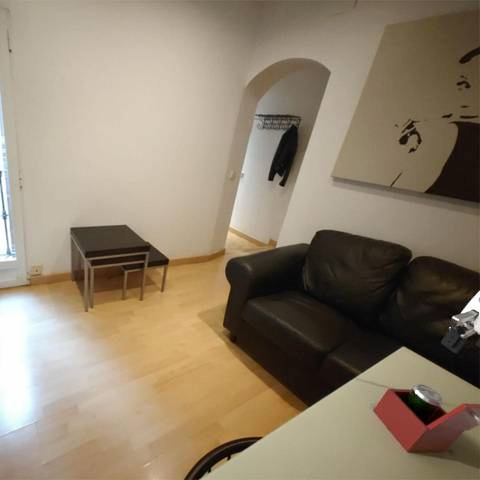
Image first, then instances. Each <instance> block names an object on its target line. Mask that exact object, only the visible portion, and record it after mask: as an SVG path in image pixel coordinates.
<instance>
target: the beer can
mask: <svg viewBox="0 0 480 480" xmlns="http://www.w3.org/2000/svg"><path fill="white" fill-rule="evenodd" d="M410 390H411V391H410V393H409V394H408V395H407V397H406V398H405V399H404V401H403V402H404V403H405V404H406V405H407V406H408V407H409V408H410V409H411V410H412V411H413V412H414V413H415V415H416V416H417V417H418V418H419V419H420V420H421V421H422V422H423V423H424V424H426V423H427V422H428V421H429V420H430V419H431V417H432V416H433V415H434V414H435V413H436V411H437V410H438V409H439V408H440V407H442V405H443V402H444V398H443V397H442V395H441V394H440V393H438V392H437V391H436V390H435V389H433V388H432V387H430V386H429V385H425V384H423V383H417V384H416V385H414V386H413V387H412V389H410Z"/></svg>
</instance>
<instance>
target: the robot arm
mask: <svg viewBox="0 0 480 480" xmlns="http://www.w3.org/2000/svg"><path fill="white" fill-rule="evenodd" d="M450 319H451V320H450V323H449V324H448V326H449V327H448V331H447V333H446V334H445V336H444V337H443V338H442V340H441V341H440V344H441V345H442V346H444V347H446V348H447V349H448V350H450V351H451V352H452V353H454V354H458V353H460V351H461V350H462V348H463V347H464V346H465V345H466V343H467V342H468V341H469V339H468V337H471V336H472V335H474V334H476V333H477V334H478V335H479V336H480V290H479V291H478V292H477V293H476V294H475V295H474V296H473V297H472V298H471V300H470V301H469V302H468V303H467V304H466V306H464V308H463V309H462V311H461V312H460V313H459V314H456V315H453V316H452V317H451V318H450ZM464 327H465V328H466V329H467V330H464ZM475 346H477V347H478V348H480V338H479V339H478V340H477V341H476V343H475Z"/></svg>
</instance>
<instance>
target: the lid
mask: <svg viewBox="0 0 480 480" xmlns="http://www.w3.org/2000/svg"><path fill="white" fill-rule="evenodd" d="M478 426H480V403H461V404H459V405H458V406H455V408H453V409H451V410H450V411H448V412H447V414H445V415H444V416H442V417H440V418H439V419H437V420H436V421H434V422H432V423H431V424H429V425H427V427H428V429H429V430H465V431H471V430H472V429H474V428H476V427H478Z"/></svg>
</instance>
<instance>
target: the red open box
mask: <svg viewBox="0 0 480 480" xmlns="http://www.w3.org/2000/svg"><path fill="white" fill-rule="evenodd" d="M411 390H412V389H409V388H408V389H404V388H388V389H387V390H386V391H385V393H384V394H383V395H382V397H381V399H380V400H379V402H378V403H377V404H376V406H375V407H374V408H373V410H372V411H373V413H374V414H375V415H376V416H377V417H378V419H379V420H380V421H381V422H382V423H383V425H384V426H385V428H386V429H387V430H388V431H389V432H390V433H391V435H392V436H393V437H394V438H395V439H396V441H397V442H398V444H399V445H401V447H402V448H403V449H404V450H405V452H406V453H445V452H446V451H447V450H448V449H449V448H450V447H451V446H452V445H453V444H454V442H456V441H457V440H458V438H459V437H460V436H462V434H463V433H464V432H465V431H466V430H429V429H428V427H427V425H429V424H431V423H432V422H434V421H436V420H437V419H439V418H440V417H442V416H444V415H445V414H447V413H448V412H447V411H446V410H445V409H444V408H443V407H442V406H441V407H440V408H439V409H438V410H437V411H436V413H435V414H434V415H433V416H432V417H431V419H430V420H429V421H428V422H427V423H426V424H424V423H423V422H422V421H421V420H420V419H419V418H418V417H417V416H416V415H415V413H414V412H413V411H412V410H411V409H410V408H409V407H408V406H407V405H406V404H405V403H404V402H403V401H404V399H405V398H406V397H407V395H408V394H409V393H410V391H411Z"/></svg>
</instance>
